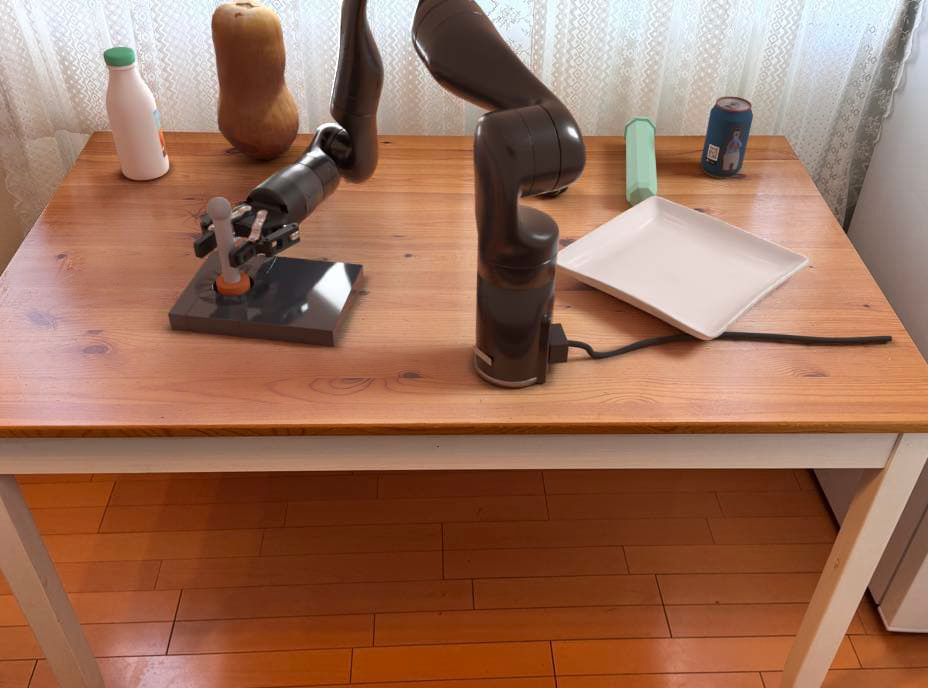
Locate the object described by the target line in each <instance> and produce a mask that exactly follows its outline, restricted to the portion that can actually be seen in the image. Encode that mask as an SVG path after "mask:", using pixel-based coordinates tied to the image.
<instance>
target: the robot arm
mask: <svg viewBox="0 0 928 688" xmlns="http://www.w3.org/2000/svg"><path fill="white" fill-rule="evenodd" d="M367 6H368V0H339V18H338V20H339V21H338V22H339V23H338V49H337V59H336V60H337V61H336V66H335V72H334V78H333V82H332V88H331V93H330V94H331V95H330V99H329V100H330V101H329V114H330V116H331V118H332V119H333V120H334V122H336V123H334V122H328V123H324V124H322V125H320V126H319V127H318V128H317V129H316V131H315V132H314V134H313V136H312V137H311V140H310V142H309V143H308V145H307V147H306V148H305V150H304V151H303V152H302V154H301V155H300V156H299V157H297V159H295V160H294V161H292V162H291V163H290V164H288V165H287V166H285V167H283V168H280V169H279V170H277V171H275V173H273V174H271V175H270V176H269V177H268V178H266V179H265V180H264V181H262V182H261V183H260V184H258V185H257V186H255V187H254V188H253V189H252V190H251V191H249V192H248V195H247V196H246V199H245V201H244V203H243V204H240V205H238V206H236V207H234V208H233V209H232V210H231V214H230V221H231V227H232V232H233V238H234V243H235V242H237V241H240V240H241V239H244V240H243V241H241V242H240V243H239V244H238V245H236V246H235V248H234V249H233V250H232V251H230V252H229V254H228V258H229V263H230V267H233V268H237V267H239V266H240V265H243V264H245V263H246V262H247V261H248V260H249V259H250V258H252V257H253V256H254V257H256V256H259V255H265V256H266V257H273V256H277V255H278V254H280V253H282V252H284V251H286V250H287V249H289V248H292V247H293V246H295V245H297V244H298V243H300V242H301V232H300V226H299V225H300V224H302V223H303V222H304V221H305V220H306V219H307V218H309V217H310V216H311V215H313V213H314V212H315V211H316V210H317V209H318V207H319V206H320V205H321V204H322V203H324V202H325V201H326V200H327V199H328V198H330V196H332V195H333V194H334V193H335V192H336V191H337V190H338V188H339V186H340V183H341V179H342V180H344V181H346V182H348V183H350V184H353V185H362V184H364V183H366V182H368V181H369V180H371V178H372V177H373V175H374V174H375V172H376V170H377V167H378V163H379V157H380V156H379V155H380V148H379V137H378V119H377V117H378V115H377V114H378V109H379V105H380V102H381V101H380V100H381V96H382V91H383V88H384V81H385V68H384V62H383V58H382V55H381V52H380V50H379V47H378V45H377V42H376V40H375V38H374V35H373V32H372V30H371V26H370V22H369V20H368V13H367V12H368V11H367V10H368V7H367ZM410 40H411V42H412V46H413V49H414V51H415V52H416V54H417V56H418V58H419V59H420V61H421V62H422V64H423V65H424V67H425V68H426V70H427V71H428V73H429V74H430V75H431V77H432V79H433V80H434V81H435V82H436V83H437V84H438V86H440V87H441V88H442V89H444V90H445V91H447V92H448V93H450V94H452V95H453V96H455V97H457V98H459V99H461V100H464V101H466V102H468V103H469V104H472V105H473V106H476V107H478V108H481V109H483V110H486V111H488V112H485V113H484V114H482V115H481V116H480V118H478V120H477V123H476V126H475V128H474V132H473V143H472V159H473V160H472V161H473V162H472V163H473V180H474V181H473V182H474V183H473V184H474V185H473V186H474V217H475V224H476V234H477V246H476V247H477V252H476V254H477V255H476V295H475V296H476V297H475V298H476V299H475V300H476V302H475V306H476V307H475V345H473V353H474V357H473V358H474V359H473V364H474V369H475V371H476V373H477V374H478V375H479V376H480V378H481V379H483V380H485V381H486V382H488V383H490V384H492V385H494V386H498V387H502V388H508V389H509V388H510V389H511V388H514V389H516V388H524V387H528V386H531V385H532V386H533V385H534V384H545V383H547V378H548V372H549V368H550V365H552V364H553V365H554V364H565V363H568V359H569V358H568V357H569V349H570V348H577V349H582V350H584V351H586V353H587V355H588V356H589V357H591V358H592V359H593V358H594V359H608V358H613V357H616V356H620V355H624V354H626V353H629V352H632V351H634V350H638V349H640V348H643V347H647V346H653V345H658V344H659V345H660V344H664V343H671V342H678V341H685V340H686V341H687V340H697V339H698V340H699V339H700V338H697V337H695V336H693V335H690V334H688V333H686V332H685V333H677V334H672V335H665V336H658V337H653V338H648V339H643V340H639V341H636V342H633V343H631V344H628V345H625V346H623V347H620V348H616V349H615V350H611V351H595V350H594V349H593V347H592V346H591V345H590V344H588V343H586V342H583V341H578V340H570V339H568V337H567V335H566V333H565V330H564V327H563V325H562V323H561V322H556V323H554V313H555V302H556V293H555V290H556V278H557V269H558V268H557V257H558V251H559V245H560V228H559V225H558V223H557V221H556V219H554V218H553V217H552V216H551V215H549V214H548V213H546V212H545V211H542V210H540V209H537V208H535V207H533V206H532V207H531V206H528V205H522V204H520V203H519V202H520V199H522V198H528V197H532V196H537V195H542V194H543V193H547V192H553V191H557V190H560V189H562V188H565V187H568V188H569V187H570V186H572V185H574V184H575V183H576V182H578V181H579V180H580V178H581V177H582V176H583V174H584V172H585V168H586V165H587V148H586V143H585V140H584V136H583V134H582V130H581V128H580V126H579V124H578V122H577V120H576V119H575V117H574V115H573V114H572V112H571V111H570V109H569V108H568V107H567V105H566V104H565V103H564V102H563V101H562V100H561V99H560V98H559V97H558V96H557V95H556V94H555V93H554V92H553V91H551V89H550V88H549V87H547V86H546V84H544V82H542V81H541V80H540V78H538V77H537V76H536V75H535V74H534V73H533V72H532V71H531V70H530V69H529V67H527V66H526V64H525V63H524V62H523V61H522V60H521V59H520V57H519V56H518V55H517V54H516V53H515V51H514V49H512V47H511V46H510V45H509V44H508V42H507V41H506V40H505V39H504V38H503V36H502V35H501V34H500V31H498V29H497V27H496V26H495V24H494V23H493V22H492V20H491V19H490V17H488V15H487V14H486V12H485V11H484V10H483V8H482V7H481V6H480V4H478V3H477V1H476V0H417V3H416V5H415V8H414V10H413V13H412V16H411V22H410ZM199 226H200V230H201V236H200V237H198V238H197V239H196V240H195V241H193V250H194V255H195V257H196V258H198V259H201V260H202V259H204V258H205V257H206V256H209V255H210V253H211V252H212V251H213V250H216V248H218V246H217V241H216V236H215V231H214V225H213V220H212V218H211V217H210V216H209V214H208V212H207V213H206V214H205V215H204V217H203V218H202V220H200V222H199ZM245 239H247V240H245ZM274 242H275V245H274V244H273V243H274ZM273 245H274V246H273ZM723 338H724V339H746V340H747V339H749V340H766V341H767V340H768V341H783V342H796V343H797V342H798V343H810V344H830V345H831V344H835V345H836V344H837V345H839V344H840V345H841V344H844V345H845V344H869V343H870V344H871V343H891V342H892V340H893V336H892V335H874V336H873V335H871V336H852V337H851V336H849V337H848V336H846V337H845V336H843V337H841V336H840V337H836V336H835V337H834V336H833V337H832V336H831V337H830V336H829V337H828V336H810V335H809V336H808V335H798V334H797V335H796V334H783V333H769V332H768V333H767V332H766V333H765V332H762V333H761V332H749V331H747V332H745V331H724V332H723V333H722V334H721V335H719V336H718V337H716V338H715V339H723ZM700 340H701V339H700Z"/></svg>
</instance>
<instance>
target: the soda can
mask: <svg viewBox="0 0 928 688" xmlns="http://www.w3.org/2000/svg"><path fill="white" fill-rule="evenodd" d="M752 106H753V105H752V103H751V101H749V100H748V99H745V98H743V97H739V96H721V97H719V98H717V99H716V101H715V104H714V105H713V107H712V108H711V109H710V111H709V117H708V123H707V126H706V127H707V128H706V132H705V137H704V143H703V148H702V153H701V158H700V164H701V167H702V170H703V172H704V173H705V174H706V175H708V176H710V177H712V178H716V179H730V178H733V177H735V176H736V175H738V173H739V172H740V171H741V170H742V167H743V163H744V159H745V154H746V150H747V146H748V141H749V137H750V132H751V129H752V123H753V118H754V113H753V109H752Z"/></svg>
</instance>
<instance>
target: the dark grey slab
mask: <svg viewBox="0 0 928 688" xmlns="http://www.w3.org/2000/svg"><path fill="white" fill-rule="evenodd" d="M239 271H240V272H244V273H246V274H247V275H248V276H249V280H250V286H251V289H250V290H249V291H248V292H246V293H243V294H240V295H235V296H226V295H221V294H218V290H217V285H216V279H217V278H218V277H219V276H220V275H221V274H223V272H222V267H221V262H220V257H219V251H218V249H217V250H216V249H214V250H213V251H211V252H210V253H209V254H208V255H207V258H206V259H205V261H204V262H203V263H202V264H201V266H200V267H199V268H198V270H197V271H196V273H195V274H194V276H193V277H192V279H191V280H190V281H189V282H188V284H187V286H186V287H185V288H184V290H183V291H182V293H181V294H180V295H179V297H178V298H177V300H176V301H175V303H174V304H173V305H172V307H171V308H170V310H169V311H168V312H167V316H168V321H169V324H170V329H171V330H177V331H178V330H179V331H187V332H195V333H205V334H215V335H223V336H224V335H225V336H234V337H244V338H251V339H252V338H254V339H263V340H271V341H280V342H281V341H282V342H290V343H299V344H310V345H318V346H327V347H335V346H336V344H337V342H338V339H339V336H340V335H341V332H342V330H343V328H344V325H345V323H346V321H347V319H348V317H349V314H350V312H351V310H352V308H353V306H354V302H355V301H356V298H357V296H358V294H359V292H360V289H361V287H362V285H363V283H364V280H365V273H364V264H361V263H350V262H342V261H341V262H340V261H330V260H329V261H328V260H320V259H309V258H297V257H287V256H277V255H275V256H273V257H266V256H265V254H260V255H259V256H256V257H254V256H253V257H252V258H250V259H249V260H248V261H247V262H246V263H245V264H243V265H240V266H239Z"/></svg>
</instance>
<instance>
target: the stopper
mask: <svg viewBox="0 0 928 688" xmlns="http://www.w3.org/2000/svg"><path fill="white" fill-rule="evenodd" d="M231 210H233V209H232V205H231V203H230V201H228V199H226V198H224V197H222V196H215V197H213V198H211V199H210V200H209V201H208V202H207V206H206V211H207V213H208V214H209V216H210V217H211V218H212V220H213V225H214V231H215V236H216V241H217V251H219V257H220V262H221V267H222V272H223V274H221V275H220V276H219V277H218V278H217V279H216V285H217V290H218V294H221V295H226V296H235V295H240V294H243V293H246V292H248V291H249V290H250V289H251V286H250V280H249V276H248V275H247V274H246V273H244V272H240V271H239V267H237V268H233V267H230V263H229V258H228V254H229V252H230V251H232V250H233V249H234V248H235V247H236V245H235V242H234V238H233V233H234V231H233V232H232V230H233V226H232V227H231V221H230V214H231Z"/></svg>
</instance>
